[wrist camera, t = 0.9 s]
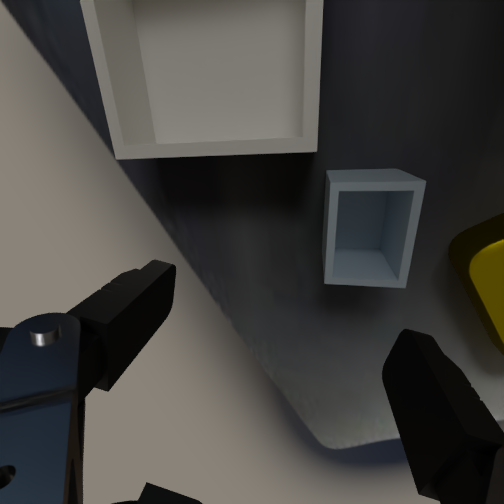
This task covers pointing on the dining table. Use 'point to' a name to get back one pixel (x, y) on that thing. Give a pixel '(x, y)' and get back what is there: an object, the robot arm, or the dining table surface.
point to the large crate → (207, 75)
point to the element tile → (483, 272)
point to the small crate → (370, 226)
